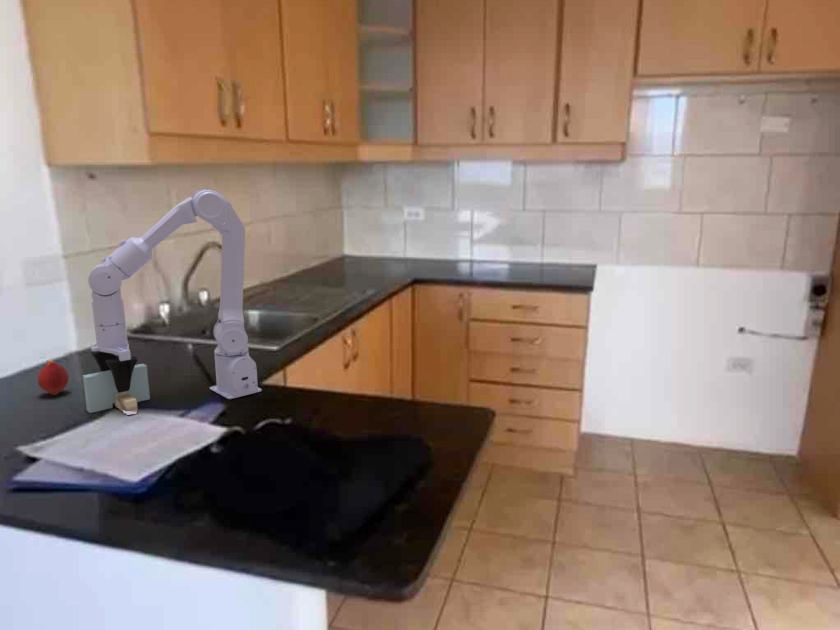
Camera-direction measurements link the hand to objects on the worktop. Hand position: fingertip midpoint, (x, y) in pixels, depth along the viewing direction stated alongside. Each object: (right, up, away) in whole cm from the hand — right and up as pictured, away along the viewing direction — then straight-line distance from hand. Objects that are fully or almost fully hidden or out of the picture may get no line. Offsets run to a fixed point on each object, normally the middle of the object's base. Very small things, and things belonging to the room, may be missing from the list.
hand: (117, 386), depth 133 cm
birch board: (0, -4, +1) cm, 4 cm away
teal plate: (0, -4, +1) cm, 4 cm away
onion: (-17, -3, +7) cm, 18 cm away
